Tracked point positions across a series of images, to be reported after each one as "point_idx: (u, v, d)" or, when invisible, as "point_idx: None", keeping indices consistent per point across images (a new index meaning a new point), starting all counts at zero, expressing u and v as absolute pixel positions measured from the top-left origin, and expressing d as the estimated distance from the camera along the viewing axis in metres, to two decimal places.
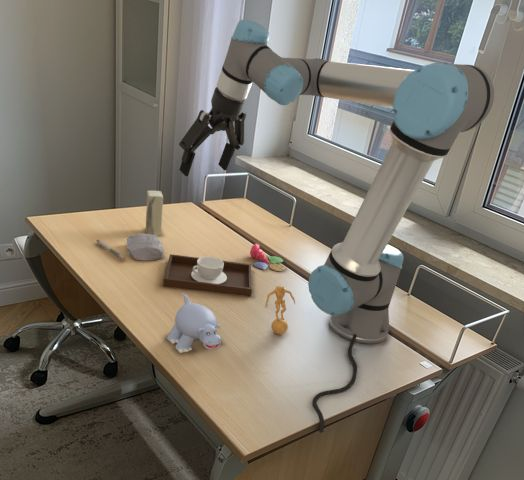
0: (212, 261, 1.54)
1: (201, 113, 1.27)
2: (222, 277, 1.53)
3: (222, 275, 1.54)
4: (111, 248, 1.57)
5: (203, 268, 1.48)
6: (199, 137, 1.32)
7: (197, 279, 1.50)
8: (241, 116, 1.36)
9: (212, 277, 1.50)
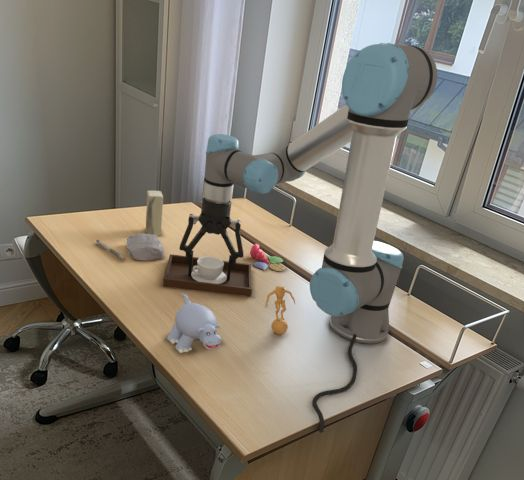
0: (212, 261, 1.54)
1: (189, 216, 1.43)
2: (222, 277, 1.53)
3: (222, 275, 1.54)
4: (111, 248, 1.57)
5: (203, 268, 1.48)
6: (193, 239, 1.46)
7: (197, 279, 1.50)
8: (236, 225, 1.44)
9: (212, 277, 1.50)
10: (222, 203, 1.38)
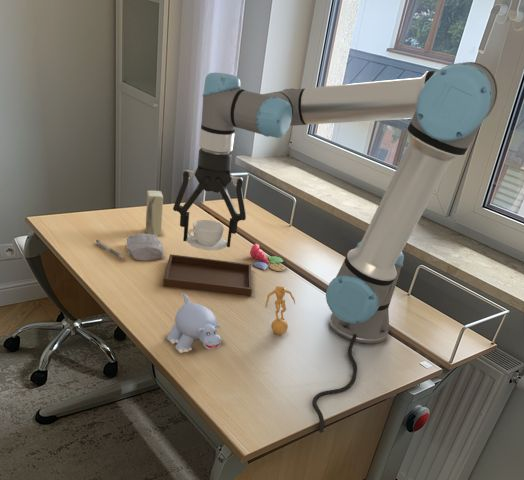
0: (211, 225, 1.36)
1: None
2: (222, 243, 1.36)
3: (221, 242, 1.36)
4: (111, 248, 1.57)
5: (200, 231, 1.30)
6: (189, 198, 1.29)
7: (193, 244, 1.32)
8: (237, 182, 1.26)
9: (210, 242, 1.32)
10: (221, 154, 1.21)
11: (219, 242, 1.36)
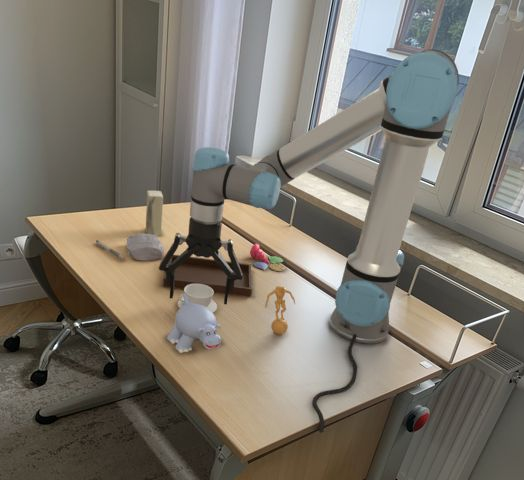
0: (201, 288, 1.40)
1: (175, 235, 1.29)
2: (212, 306, 1.40)
3: (211, 304, 1.40)
4: (110, 248, 1.57)
5: (190, 297, 1.34)
6: (177, 259, 1.31)
7: None
8: (227, 246, 1.29)
9: None
10: (211, 224, 1.24)
11: (209, 305, 1.40)
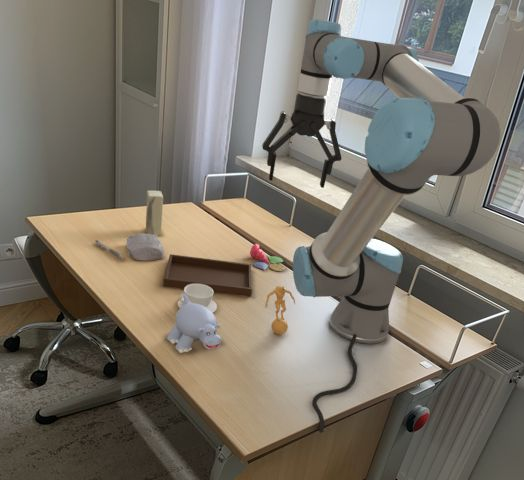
0: (201, 288, 1.40)
1: (280, 113, 1.34)
2: (212, 306, 1.40)
3: (211, 304, 1.40)
4: (110, 248, 1.56)
5: (190, 297, 1.34)
6: (280, 138, 1.36)
7: None
8: (330, 124, 1.34)
9: None
10: (319, 98, 1.29)
11: (209, 305, 1.40)
